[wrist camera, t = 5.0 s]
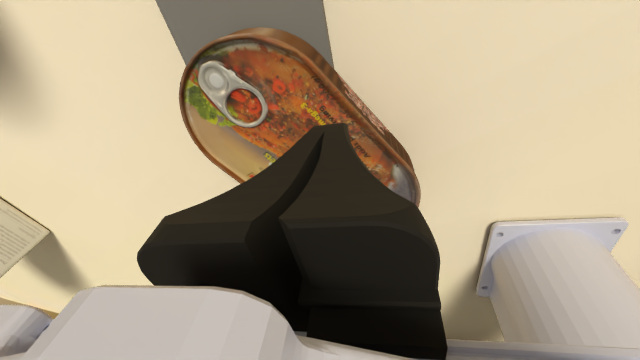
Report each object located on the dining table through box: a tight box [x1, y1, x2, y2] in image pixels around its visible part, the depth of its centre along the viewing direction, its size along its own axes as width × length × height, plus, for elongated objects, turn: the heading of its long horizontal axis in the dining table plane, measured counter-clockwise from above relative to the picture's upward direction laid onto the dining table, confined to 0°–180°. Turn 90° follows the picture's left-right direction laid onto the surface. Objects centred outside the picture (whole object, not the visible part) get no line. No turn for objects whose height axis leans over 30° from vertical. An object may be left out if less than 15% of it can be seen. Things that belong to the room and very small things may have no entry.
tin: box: [179, 27, 421, 207], centre depth 16 cm, size 15×3×8 cm
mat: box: [156, 0, 334, 69], centre depth 17 cm, size 17×8×1 cm, turn 12°
